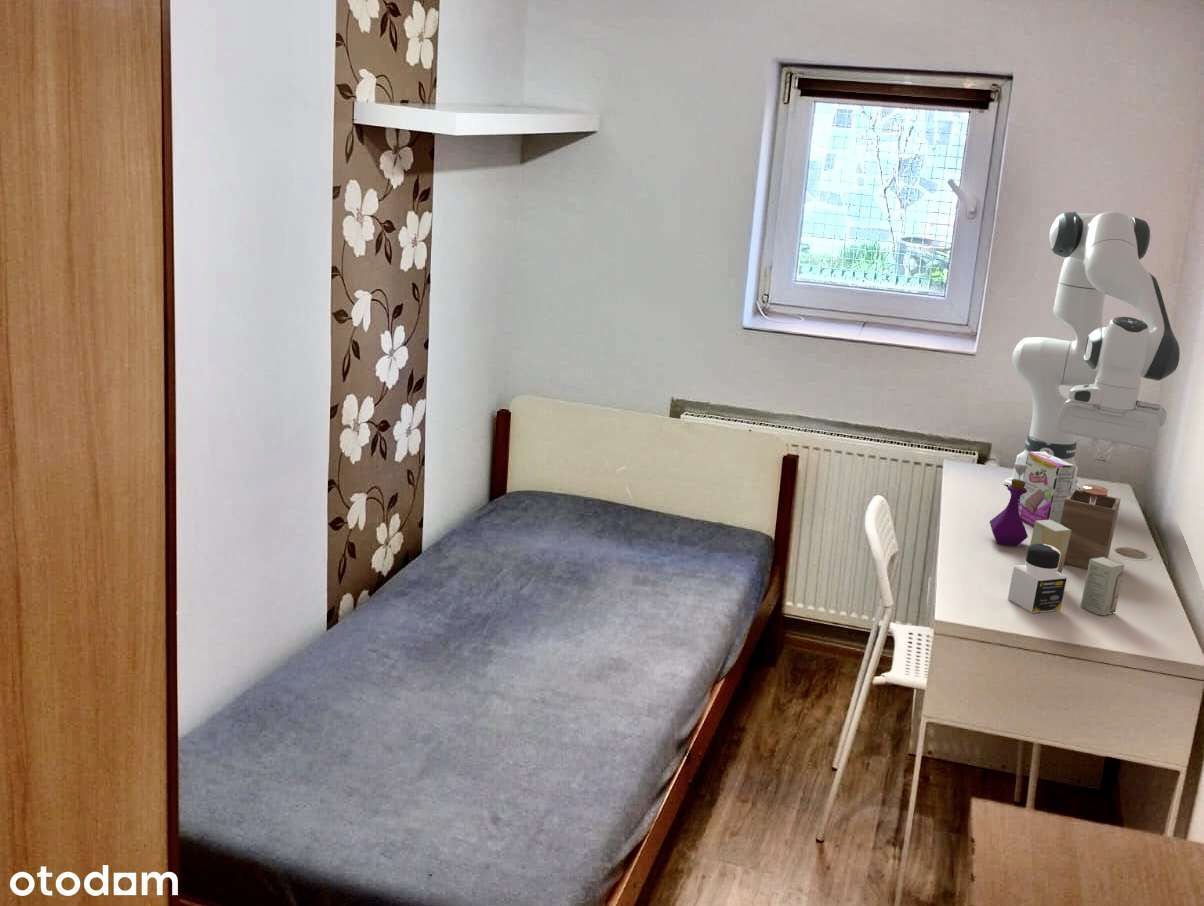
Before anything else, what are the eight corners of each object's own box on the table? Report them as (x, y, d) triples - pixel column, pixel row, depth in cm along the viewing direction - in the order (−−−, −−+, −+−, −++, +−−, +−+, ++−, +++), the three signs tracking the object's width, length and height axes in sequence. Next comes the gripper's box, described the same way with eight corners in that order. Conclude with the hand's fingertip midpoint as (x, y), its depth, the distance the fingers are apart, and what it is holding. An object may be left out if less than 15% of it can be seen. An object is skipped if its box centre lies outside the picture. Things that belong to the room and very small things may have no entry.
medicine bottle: (1032, 614, 238) (1043, 554, 235) (1006, 599, 244) (1017, 541, 241) (1060, 610, 241) (1072, 552, 238) (1035, 596, 247) (1046, 539, 244)
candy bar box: (1014, 517, 296) (1026, 451, 291) (1031, 516, 297) (1044, 450, 293) (1045, 534, 286) (1058, 465, 281) (1062, 533, 287) (1076, 465, 283)
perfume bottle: (1025, 550, 273) (1040, 472, 268) (989, 545, 274) (1004, 467, 269) (1021, 539, 280) (1036, 462, 275) (987, 534, 282) (1001, 458, 277)
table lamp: (1067, 538, 274) (1078, 479, 270) (1104, 546, 271) (1117, 487, 267) (1061, 547, 268) (1073, 488, 264) (1099, 556, 264) (1112, 496, 260)
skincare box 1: (1022, 575, 258) (1033, 519, 254) (1038, 574, 260) (1049, 518, 256) (1044, 587, 252) (1055, 530, 249) (1060, 586, 254) (1072, 529, 251)
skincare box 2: (1115, 613, 242) (1126, 565, 239) (1101, 617, 240) (1112, 567, 237) (1093, 603, 246) (1103, 555, 243) (1078, 606, 244) (1089, 558, 241)
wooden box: (1059, 548, 276) (1072, 488, 273) (1107, 559, 272) (1120, 498, 268) (1052, 561, 268) (1065, 499, 264) (1101, 573, 264) (1115, 510, 260)
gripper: (1169, 403, 258) (1155, 467, 262) (1066, 385, 267) (1054, 447, 271) (1167, 409, 253) (1152, 474, 257) (1061, 390, 261) (1049, 453, 265)
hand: (1101, 460), depth 264 cm, fingers closed
